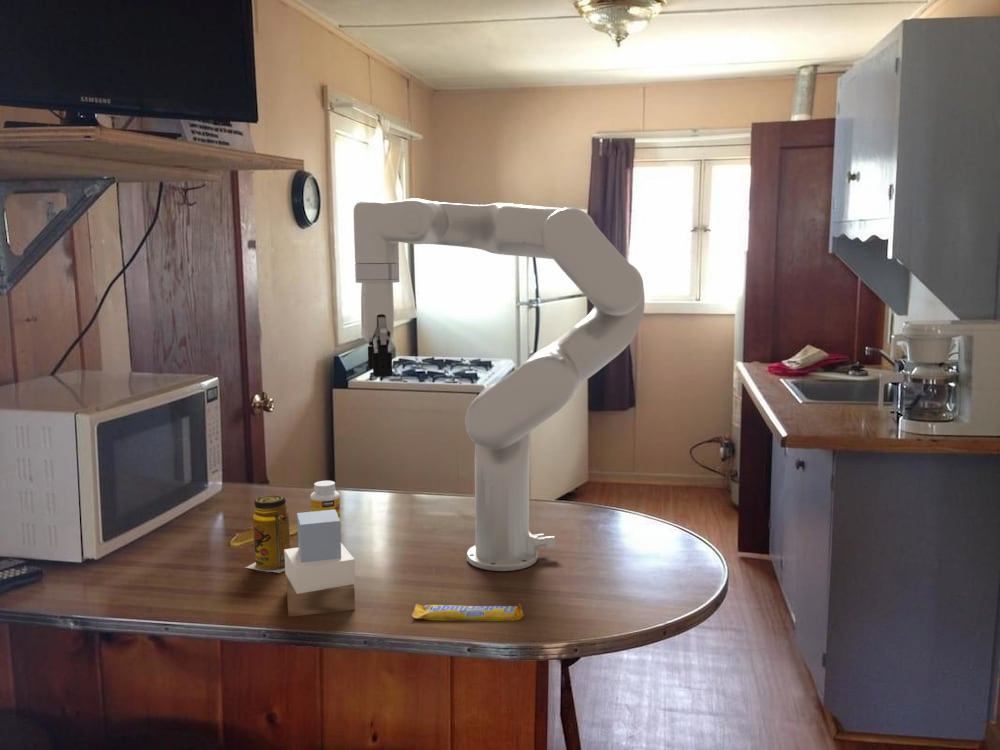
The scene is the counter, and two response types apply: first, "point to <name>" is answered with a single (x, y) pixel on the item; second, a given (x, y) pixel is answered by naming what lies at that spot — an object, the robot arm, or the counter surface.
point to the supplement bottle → (325, 497)
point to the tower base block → (320, 600)
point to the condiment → (270, 533)
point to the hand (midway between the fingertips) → (380, 371)
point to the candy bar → (468, 613)
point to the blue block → (319, 535)
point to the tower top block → (319, 571)
